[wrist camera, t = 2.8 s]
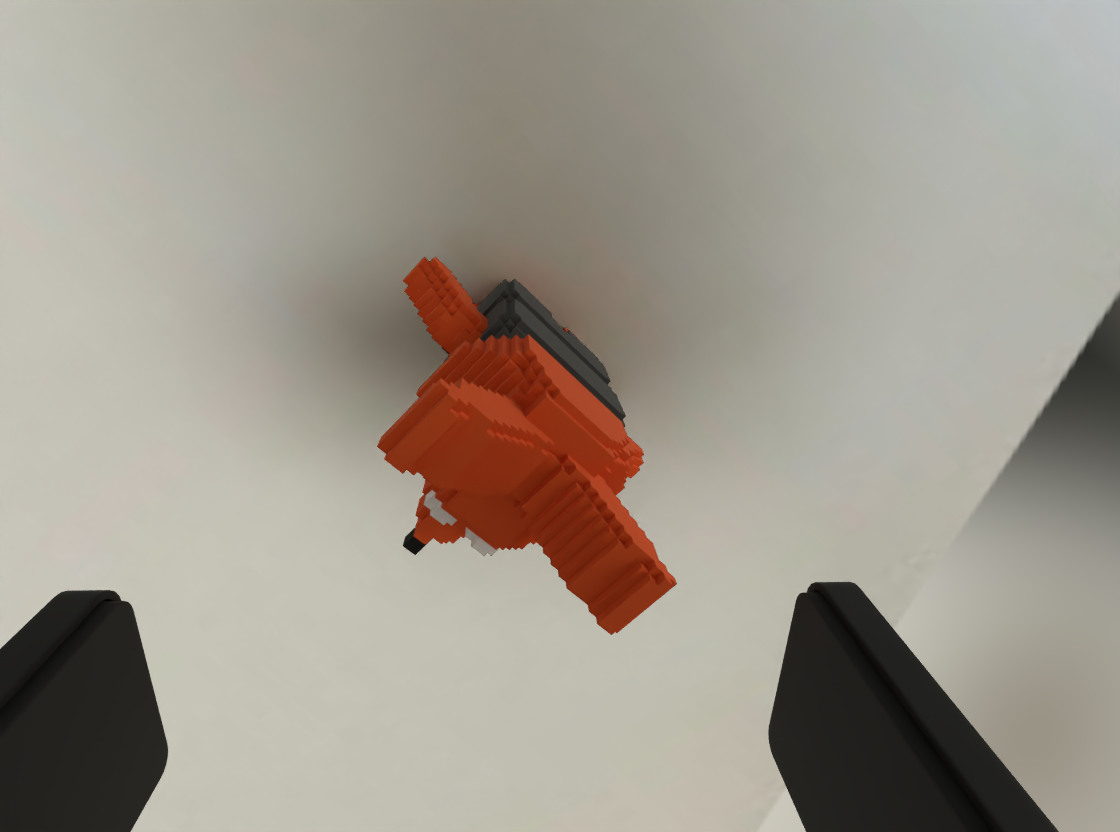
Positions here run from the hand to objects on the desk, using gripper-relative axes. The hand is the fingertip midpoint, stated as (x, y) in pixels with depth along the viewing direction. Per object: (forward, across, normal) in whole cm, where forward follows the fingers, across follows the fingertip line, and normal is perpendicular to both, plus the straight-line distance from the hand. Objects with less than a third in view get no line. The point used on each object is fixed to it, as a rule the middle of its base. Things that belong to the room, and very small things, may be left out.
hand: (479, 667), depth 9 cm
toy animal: (+14, 0, 0) cm, 14 cm away
